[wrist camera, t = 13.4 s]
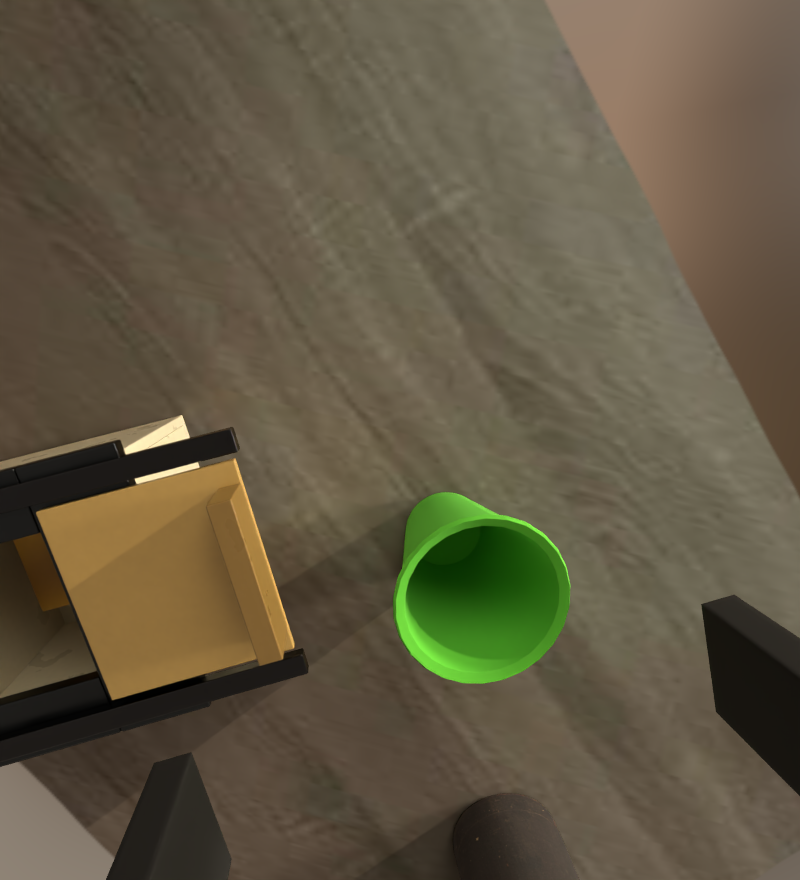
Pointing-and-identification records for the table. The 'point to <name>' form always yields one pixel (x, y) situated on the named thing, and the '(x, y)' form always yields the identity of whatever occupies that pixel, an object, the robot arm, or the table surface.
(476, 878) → the container
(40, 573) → the block
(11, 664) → the sliding lid box
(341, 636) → the table surface
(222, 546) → the shutter
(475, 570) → the cup
